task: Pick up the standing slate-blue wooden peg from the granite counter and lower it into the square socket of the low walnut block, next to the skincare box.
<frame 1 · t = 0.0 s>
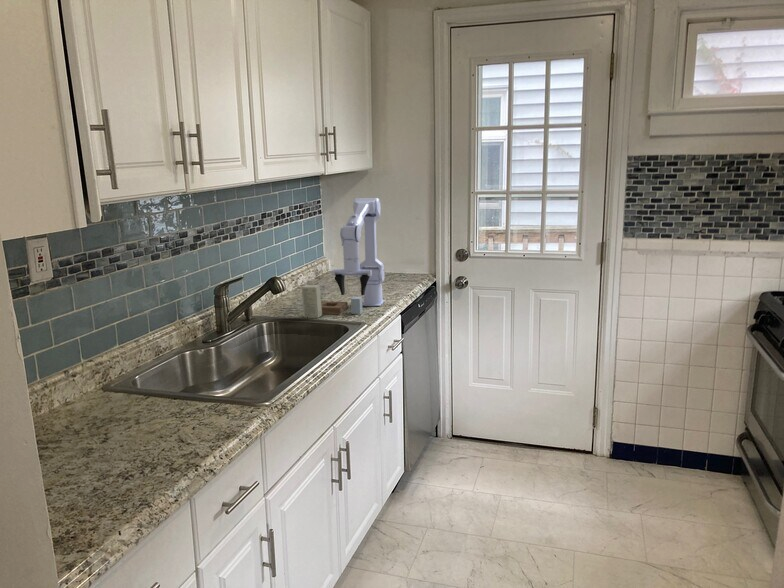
hand: (352, 294, 238), 10 cm above the table, tool pointing down, fingers open, 7 cm apart
peg: (357, 312, 253), on the table
walnut socket block: (330, 310, 257), on the table
skincare box: (312, 317, 248), on the table
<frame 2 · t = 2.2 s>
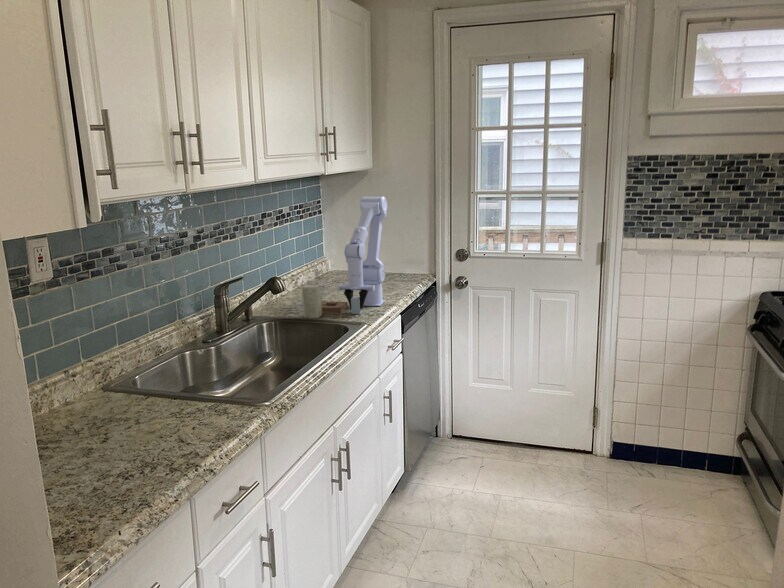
hand: (356, 308, 252), 2 cm above the table, tool pointing down, fingers closed on peg, 3 cm apart
peg: (357, 312, 253), on the table, touching gripper
everything else where it was.
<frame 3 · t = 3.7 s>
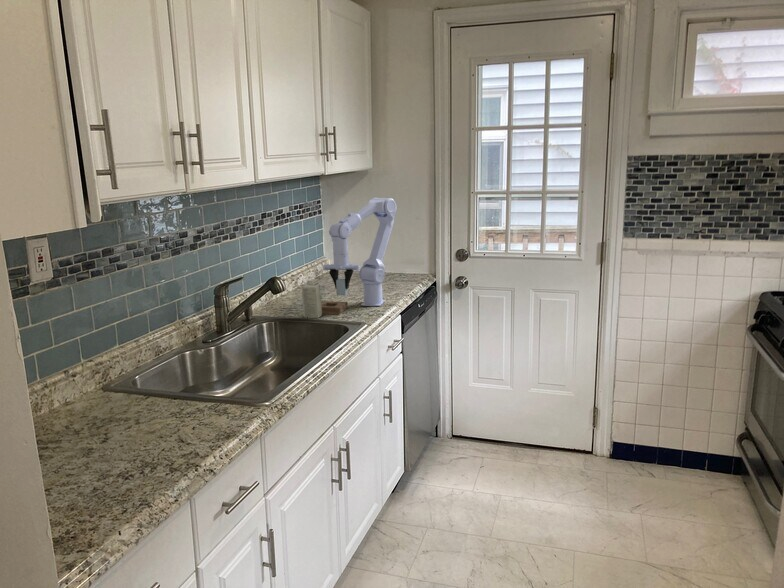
hand: (342, 288, 253), 9 cm above the table, tool pointing down, fingers closed on peg, 3 cm apart
peg: (342, 294, 253), point 7 cm above the table, touching gripper
everything else where it was.
when the fingers open (4 cm above the table, at t = 5.5 s): peg stays where it is, resting on walnut socket block.
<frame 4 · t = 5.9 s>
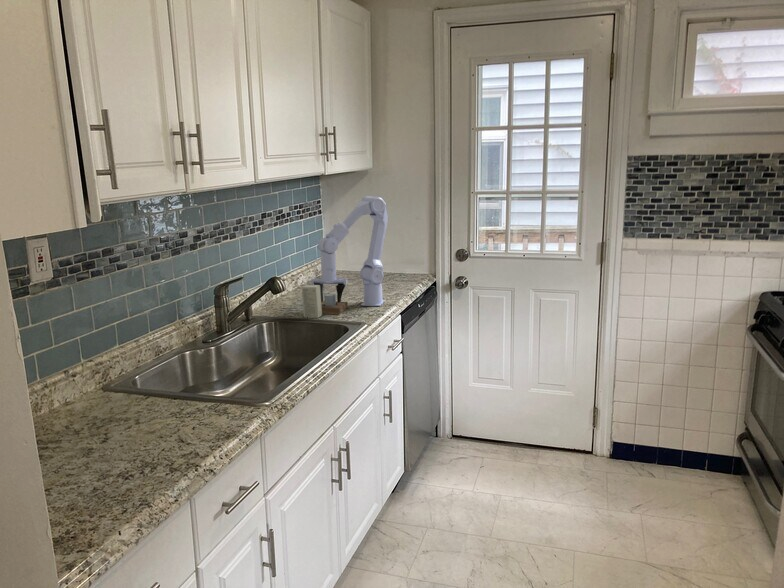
hand: (330, 301, 256), 4 cm above the table, tool pointing down, fingers open, 7 cm apart
peg: (330, 309, 257), resting on walnut socket block
everything else where it was.
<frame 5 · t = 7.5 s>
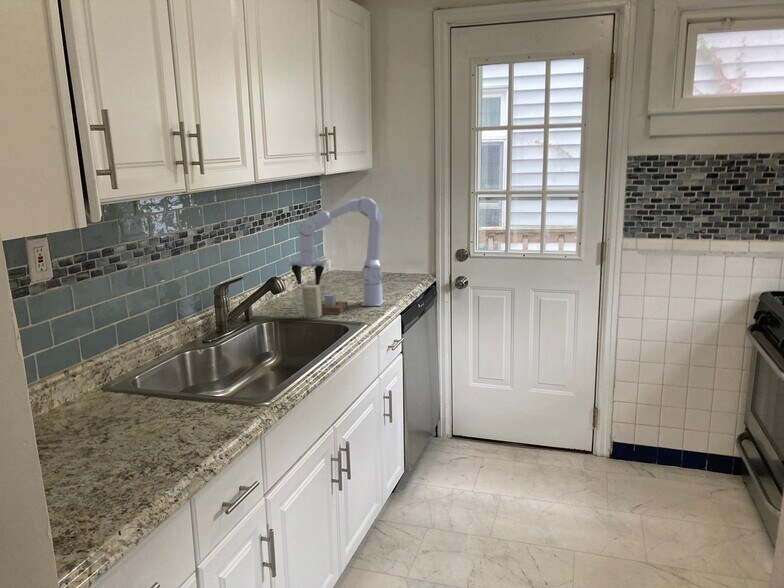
hand: (308, 284, 257), 11 cm above the table, tool pointing down, fingers open, 7 cm apart
nothing on the table moved.
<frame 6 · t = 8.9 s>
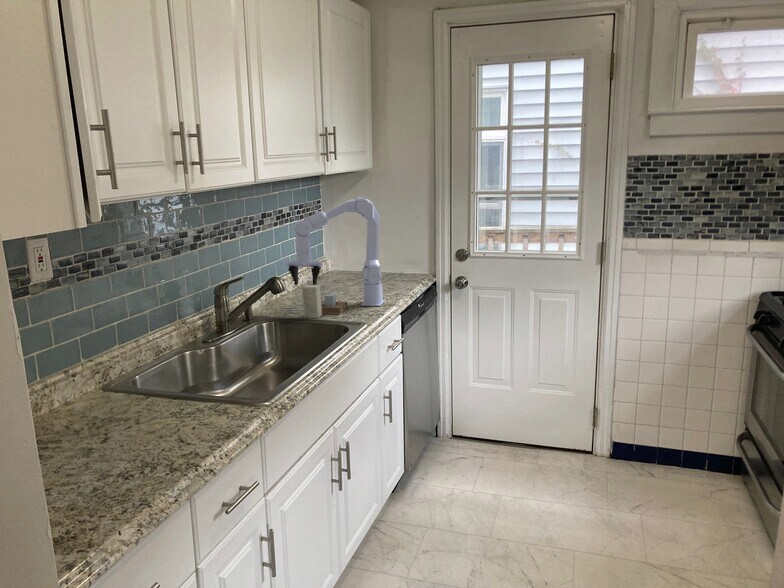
hand: (305, 284, 257), 10 cm above the table, tool pointing down, fingers open, 7 cm apart
nothing on the table moved.
at the end: peg 0.0 cm off-centre on the walnut socket block, point 0.4 cm above the walnut socket block's base; peg tilted 0°; the gripper is holding nothing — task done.
